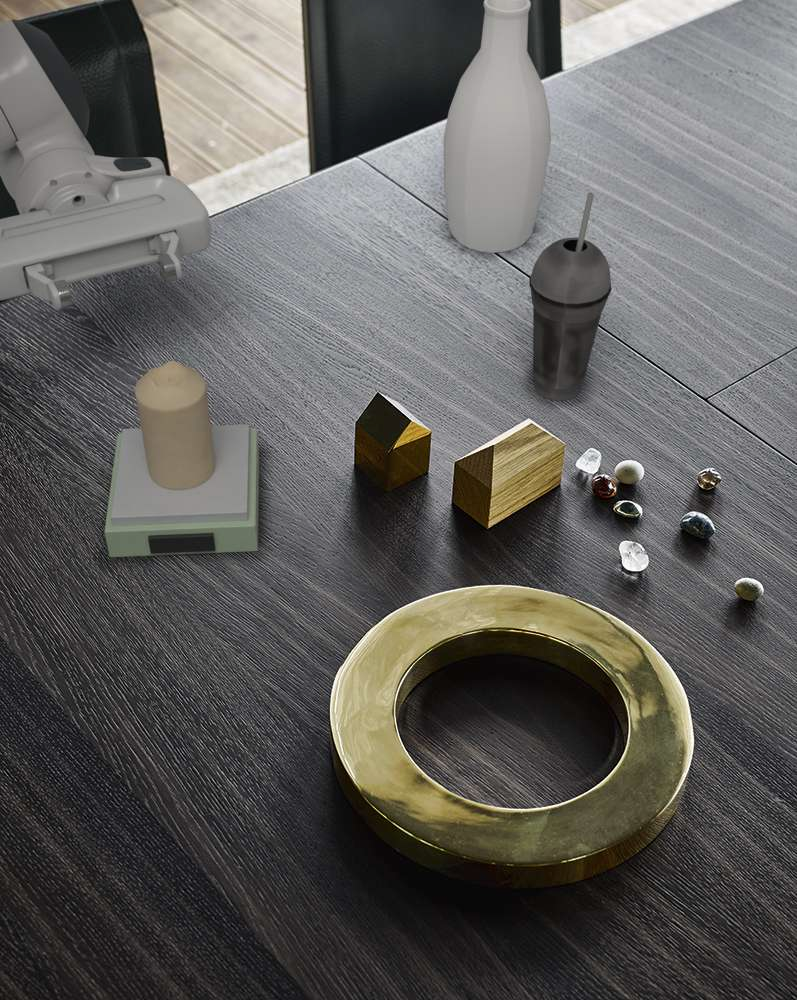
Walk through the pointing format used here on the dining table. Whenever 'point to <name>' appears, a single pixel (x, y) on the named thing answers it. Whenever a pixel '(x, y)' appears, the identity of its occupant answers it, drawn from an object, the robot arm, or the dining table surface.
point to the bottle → (497, 137)
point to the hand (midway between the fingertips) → (119, 287)
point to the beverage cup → (567, 311)
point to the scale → (185, 501)
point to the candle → (176, 426)
